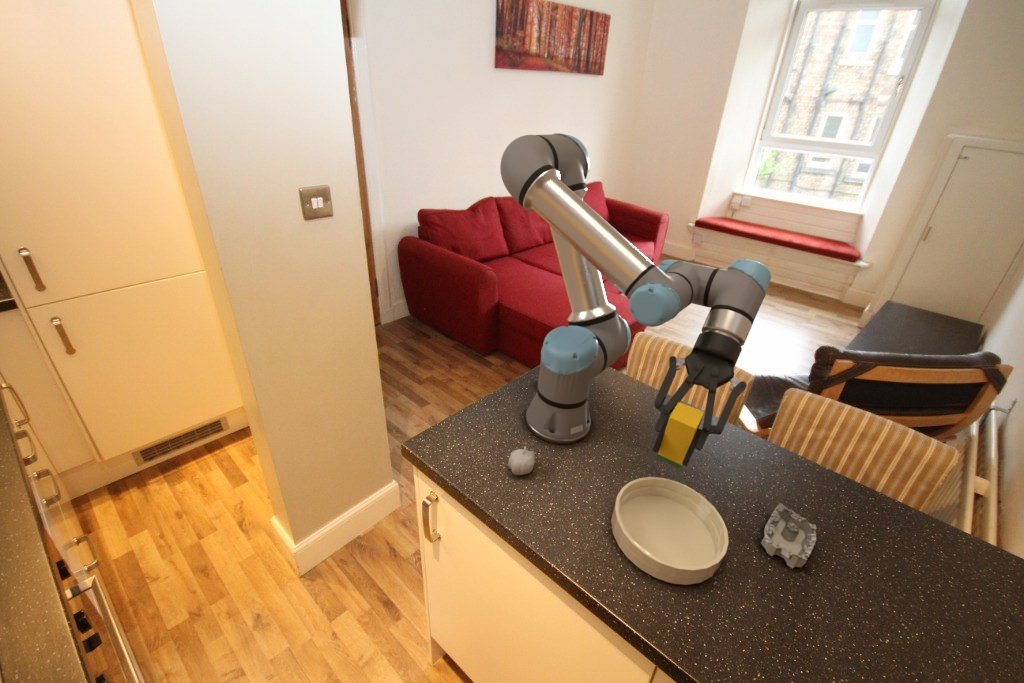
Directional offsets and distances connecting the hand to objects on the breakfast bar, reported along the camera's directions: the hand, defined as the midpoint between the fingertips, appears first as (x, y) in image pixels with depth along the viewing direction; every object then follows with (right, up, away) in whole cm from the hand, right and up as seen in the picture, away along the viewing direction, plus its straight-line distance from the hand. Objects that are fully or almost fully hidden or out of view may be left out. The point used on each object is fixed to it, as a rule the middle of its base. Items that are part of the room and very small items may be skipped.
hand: (669, 457), depth 77 cm
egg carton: (+23, -17, +5) cm, 29 cm away
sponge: (+2, -1, +5) cm, 5 cm away
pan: (0, -15, +4) cm, 16 cm away
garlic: (-25, -7, +15) cm, 30 cm away
